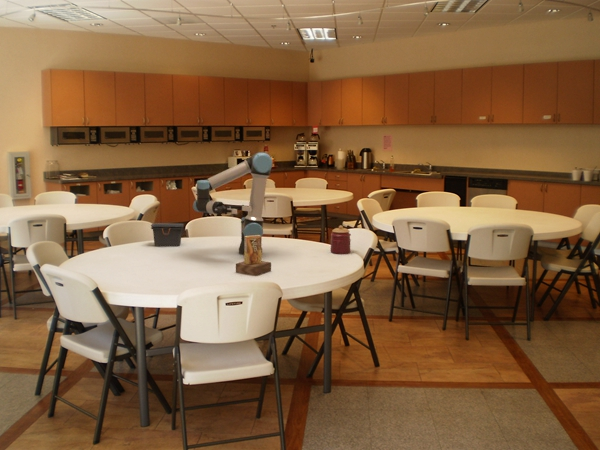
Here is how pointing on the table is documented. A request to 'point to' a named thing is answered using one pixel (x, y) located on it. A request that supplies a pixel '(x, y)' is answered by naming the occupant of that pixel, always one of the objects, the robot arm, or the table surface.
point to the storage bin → (167, 234)
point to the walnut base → (253, 268)
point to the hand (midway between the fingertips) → (244, 210)
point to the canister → (340, 241)
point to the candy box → (252, 249)
